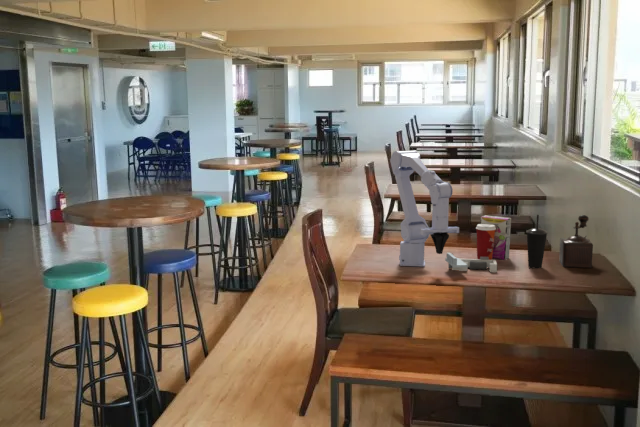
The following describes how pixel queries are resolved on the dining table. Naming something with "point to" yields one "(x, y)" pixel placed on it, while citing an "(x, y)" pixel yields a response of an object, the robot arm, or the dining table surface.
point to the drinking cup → (536, 246)
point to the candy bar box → (499, 235)
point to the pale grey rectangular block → (490, 263)
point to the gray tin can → (478, 265)
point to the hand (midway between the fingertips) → (439, 253)
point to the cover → (454, 261)
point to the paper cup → (485, 240)
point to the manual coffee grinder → (576, 248)
